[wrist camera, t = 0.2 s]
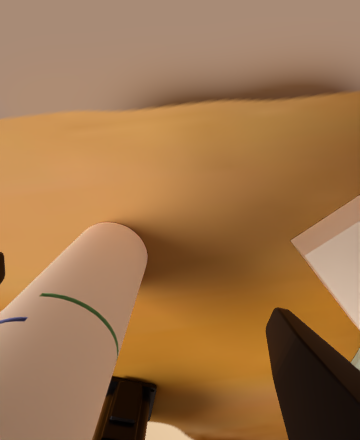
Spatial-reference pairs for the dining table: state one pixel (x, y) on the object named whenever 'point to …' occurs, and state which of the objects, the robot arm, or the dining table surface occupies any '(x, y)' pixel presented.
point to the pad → (356, 360)
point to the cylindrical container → (68, 336)
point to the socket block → (336, 255)
